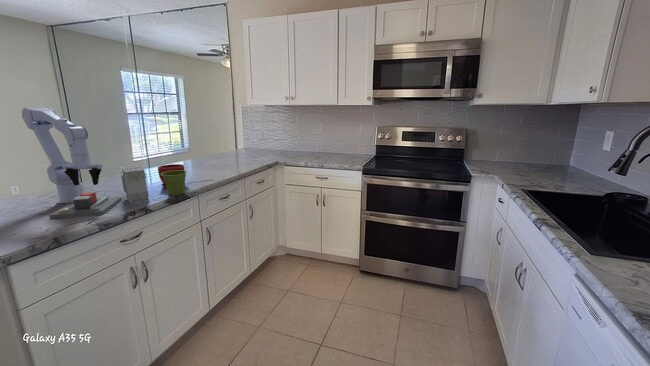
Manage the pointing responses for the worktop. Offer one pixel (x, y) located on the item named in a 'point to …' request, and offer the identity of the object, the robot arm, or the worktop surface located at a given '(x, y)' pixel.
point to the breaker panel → (95, 209)
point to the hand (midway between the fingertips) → (86, 184)
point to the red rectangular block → (93, 196)
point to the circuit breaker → (135, 185)
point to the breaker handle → (82, 202)
